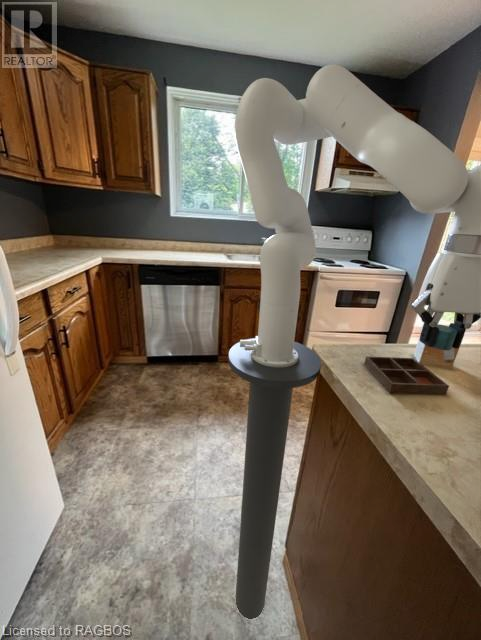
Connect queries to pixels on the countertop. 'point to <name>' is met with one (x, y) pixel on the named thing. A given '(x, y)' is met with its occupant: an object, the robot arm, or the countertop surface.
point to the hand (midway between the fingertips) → (438, 343)
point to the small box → (435, 355)
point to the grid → (405, 376)
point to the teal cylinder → (445, 337)
